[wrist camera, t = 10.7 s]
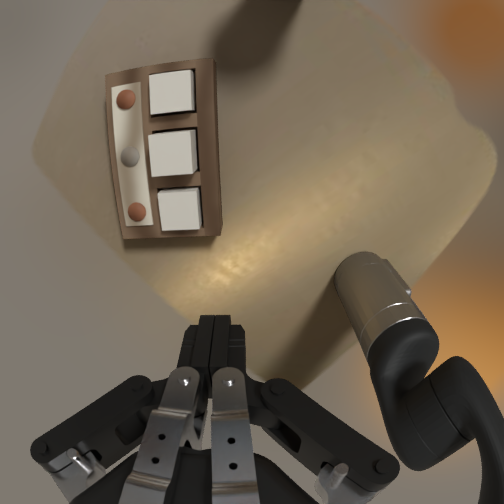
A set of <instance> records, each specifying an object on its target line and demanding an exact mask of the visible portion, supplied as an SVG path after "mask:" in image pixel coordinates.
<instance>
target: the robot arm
mask: <svg viewBox="0 0 504 504" xmlns="http://www.w3.org/2000/svg"><path fill="white" fill-rule="evenodd" d="M334 284H335V288H336V290H337V293H338V295H339V297H340V299H341V302H342V304H343V306H344V308H345V311H346V313H347V315H348V317H349V320H350V322H351V324H352V327H353V329H354V331H355V334H356V336H357V338H358V341H359V343H360V345H361V348H362V350H363V352H364V355H365V357H366V360H367V362H368V364H369V367H370V376H371V380H372V383H373V386H374V389H375V392H376V395H377V398H378V402H379V405H380V409H381V412H382V416H383V420H384V423H385V427H386V430H387V433H388V436H389V439H390V442H391V444H392V446H393V449H394V451H395V452H396V454H397V455H398V457H399V459H400V460H401V461H402V462H403V463H404V464H405V465H406V466H407V467H408V468H410V469H412V470H414V471H422V470H426V469H428V468H430V467H432V466H434V465H435V464H437V463H439V462H440V461H442V460H444V459H445V458H447V457H448V456H450V455H451V454H453V453H454V452H456V451H457V450H459V449H460V448H462V447H463V446H464V445H466V444H467V443H469V442H470V441H471V440H473V439H474V438H476V441H477V444H478V447H479V451H480V456H481V462H482V483H481V490H480V497H479V502H478V504H504V418H503V416H502V414H501V412H500V410H499V408H498V406H497V404H496V402H495V400H494V398H493V396H492V394H491V393H490V391H489V389H488V387H487V385H486V384H485V382H484V380H483V379H482V378H481V376H480V375H479V373H478V372H477V370H476V369H475V368H474V367H473V366H472V365H471V364H470V363H469V362H468V361H467V360H465V359H464V358H462V357H459V356H454V357H451V358H449V359H448V360H446V361H445V362H444V363H443V364H441V365H440V366H439V367H438V368H436V369H435V370H434V371H433V372H432V373H431V374H429V375H428V376H427V377H425V375H426V374H427V372H428V370H429V369H430V367H431V366H432V364H433V362H434V361H435V358H436V356H437V354H438V350H439V339H438V336H437V334H436V332H435V331H434V329H433V328H432V326H431V325H430V323H429V322H428V321H427V319H426V318H425V316H424V315H423V314H422V312H421V311H420V310H419V308H418V307H417V305H416V304H415V303H414V301H413V300H412V299H411V297H410V296H411V289H410V288H409V286H408V285H407V284H406V282H405V281H404V280H403V279H402V277H401V276H400V275H399V274H398V272H397V271H396V270H395V269H394V268H393V266H392V265H391V264H390V263H389V261H388V260H387V259H381V258H380V257H378V256H377V255H376V254H374V253H370V252H360V253H356V254H353V255H351V256H350V257H348V258H347V259H345V260H344V261H343V262H342V263H341V264H340V266H339V267H338V269H337V271H336V273H335V277H334ZM424 377H425V378H424ZM208 398H212V415H211V449H206V450H202V438H203V433H204V427H205V422H206V417H207V404H208ZM250 424H254V425H258V426H261V427H262V429H263V430H264V431H265V432H266V433H267V434H268V435H269V436H271V437H272V438H273V439H274V440H275V441H276V442H277V443H278V444H279V445H281V446H282V447H283V448H284V449H285V450H286V451H287V452H289V453H290V454H291V455H292V456H293V457H294V458H296V459H297V460H298V461H299V462H301V463H302V464H303V465H304V466H305V467H306V468H308V469H309V470H310V471H312V472H313V473H314V474H315V475H317V476H318V477H317V478H316V481H315V484H314V487H315V490H316V492H317V493H318V494H319V496H320V497H321V498H322V501H323V504H366V503H367V502H369V501H371V500H372V499H373V498H374V497H375V496H376V495H378V494H379V493H380V492H381V491H382V490H383V489H384V488H385V487H386V486H388V485H389V484H390V483H391V482H392V481H393V480H394V479H395V478H396V477H397V476H398V474H399V470H400V465H399V462H398V460H397V459H396V458H395V457H394V456H393V455H391V454H390V453H388V452H387V451H385V450H384V449H382V448H380V447H379V446H378V445H376V444H374V443H373V442H372V441H370V440H369V439H367V438H366V437H364V436H363V435H361V434H359V433H358V432H357V431H355V430H354V429H352V428H351V427H349V426H348V425H347V424H345V423H344V422H343V421H341V420H340V419H338V418H337V417H336V416H334V415H333V414H331V413H330V412H329V411H327V410H326V409H324V408H323V407H322V406H320V405H319V404H318V403H316V402H315V401H314V400H312V399H311V398H310V397H308V396H307V395H306V394H304V393H303V392H302V391H301V390H299V389H298V388H297V387H295V386H294V385H293V384H292V383H290V382H289V381H287V380H285V379H280V378H276V379H271V380H269V381H267V382H265V383H262V382H258V381H255V380H253V379H251V378H250V377H249V376H248V375H247V374H246V347H245V331H244V329H243V328H242V326H241V325H231V317H230V315H216V316H215V315H201V316H200V320H199V325H190V326H189V327H188V329H187V330H186V331H185V334H184V338H183V342H182V347H181V351H180V355H179V360H178V364H177V368H176V369H175V370H173V371H172V372H171V374H170V375H169V377H168V378H166V379H164V380H159V381H154V382H151V381H150V379H149V378H147V377H145V376H142V375H136V376H132V377H130V378H128V379H127V380H126V381H124V382H123V383H121V384H120V385H118V386H117V387H115V388H114V389H112V390H111V391H109V392H108V393H106V394H105V395H103V396H102V397H100V398H99V399H97V400H96V401H95V402H93V403H91V404H90V405H88V406H87V407H85V408H84V409H82V410H81V411H79V412H78V413H76V414H75V415H73V416H72V417H70V418H68V419H67V420H65V421H64V422H62V423H61V424H59V425H57V426H56V427H54V428H53V429H51V430H50V431H48V432H47V433H45V434H43V435H42V436H40V437H39V438H37V439H36V440H35V441H34V442H33V443H32V445H31V449H30V451H31V456H32V458H33V459H34V460H35V461H36V462H38V464H40V465H41V466H42V467H43V468H44V469H45V470H46V471H47V472H48V473H49V474H51V476H52V478H53V479H54V481H55V482H56V484H57V486H58V487H59V489H60V490H61V492H62V493H63V494H64V496H65V497H66V499H67V500H68V502H69V504H319V503H318V502H317V501H315V500H314V499H313V498H312V497H311V496H310V495H308V494H307V493H306V492H305V491H304V490H303V489H302V488H301V487H299V486H298V485H297V484H296V483H295V482H294V481H293V480H292V479H290V478H289V476H287V475H286V474H285V473H284V472H283V471H282V470H281V469H280V468H279V467H278V466H277V465H276V464H275V463H273V462H272V461H271V460H269V459H268V458H265V457H264V456H261V455H259V454H256V453H253V446H252V438H251V429H250ZM140 444H141V445H140ZM138 445H140V448H139V451H137V452H135V453H134V454H132V455H131V456H129V457H128V458H127V459H125V460H124V461H123V462H122V463H120V464H119V465H118V466H117V467H115V468H114V469H113V470H111V471H110V472H109V473H107V474H106V472H105V469H107V468H108V467H109V466H111V465H112V464H114V463H115V462H117V461H118V460H119V459H121V458H122V457H123V456H125V455H126V454H128V453H129V452H130V451H132V450H133V449H134V448H135V447H137V446H138ZM105 474H106V475H105Z"/></svg>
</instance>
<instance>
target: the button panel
mask: <svg viewBox="0 0 504 504" xmlns="http://www.w3.org/2000/svg"><path fill="white" fill-rule="evenodd" d="M183 70H191V71H193V72H194V73H195V78H196V110H193V111H182V112H173V113H164V114H151V111H150V87H149V75H154V74H160V73H167V72H175V71H183ZM105 84H106V109H107V124H108V137H109V147H110V157H111V166H112V174H113V181H114V188H115V195H116V202H117V208H118V214H119V220H120V225H121V230H122V236H123V239H137V238H162V237H190V236H221V230H222V225H223V222H222V205H221V186H220V166H219V143H218V116H217V82H216V62H215V61H214V59H213V58H208V59H196V60H187V61H178V62H171V63H164V64H157V65H151V66H145V67H140V68H135V69H130V70H125V71H120V72H116V73H111V74H107V75H105ZM183 130H195V132H196V151H197V167H198V168H197V169H196V171H195V172H194V173H193V174H182V175H168V176H156V177H152V175H151V165H150V154H149V141H148V135H152V134H156V133H163V132H173V131H183ZM200 185H201V197H202V210H203V221H202V224H201V227H200V229H191V230H166V231H162V226H161V218H160V211H159V202H158V193H159V192H160V191H161V190H162V189H163V188H167V187H183V186H200Z"/></svg>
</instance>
